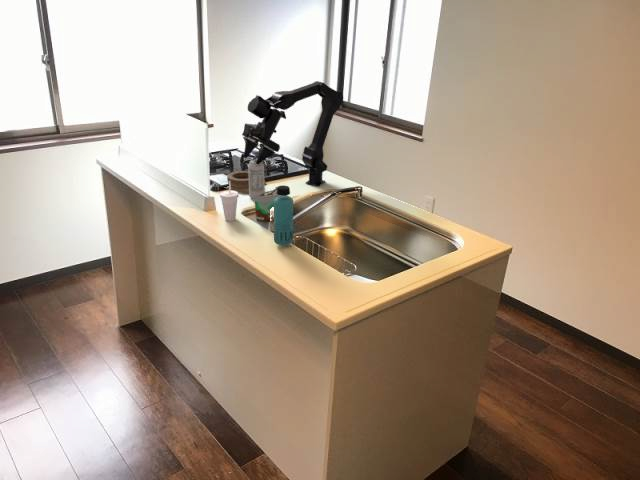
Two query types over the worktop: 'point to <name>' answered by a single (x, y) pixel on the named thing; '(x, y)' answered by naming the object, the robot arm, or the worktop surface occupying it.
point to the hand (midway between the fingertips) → (250, 160)
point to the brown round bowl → (239, 181)
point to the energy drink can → (256, 178)
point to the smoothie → (229, 203)
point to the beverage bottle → (283, 217)
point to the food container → (264, 205)
